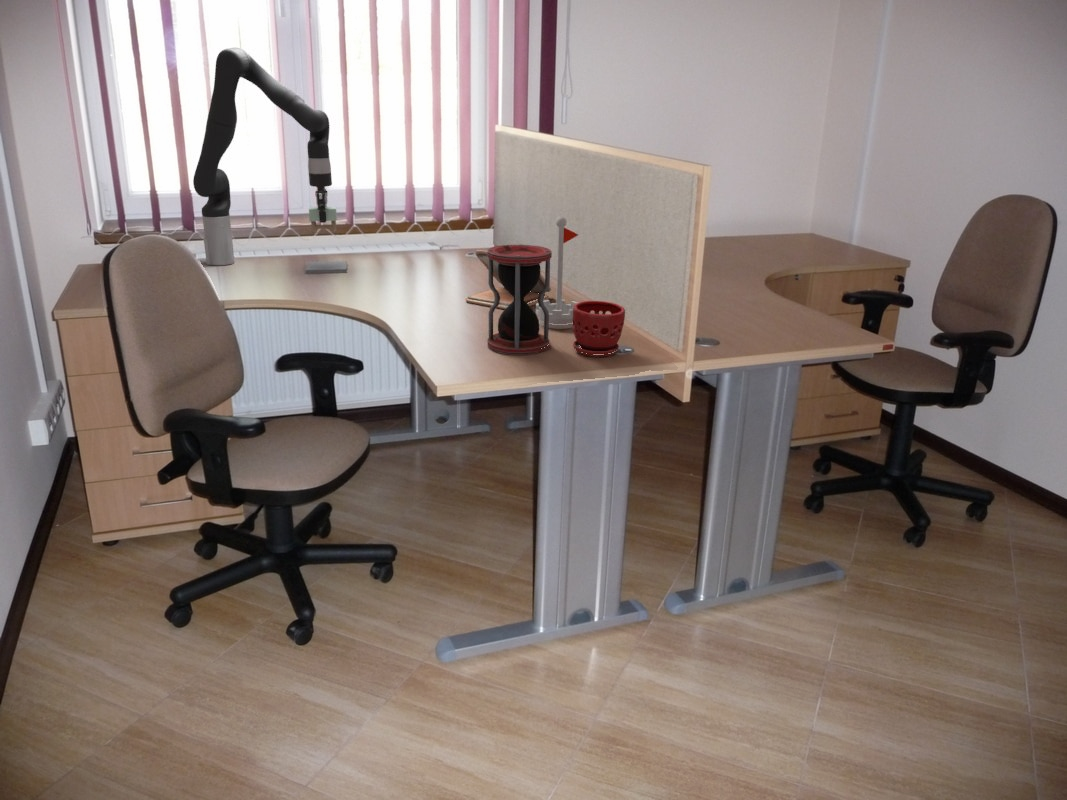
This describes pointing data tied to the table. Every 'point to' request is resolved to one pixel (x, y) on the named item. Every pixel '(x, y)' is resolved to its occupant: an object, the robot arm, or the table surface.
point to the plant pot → (597, 327)
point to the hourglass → (519, 299)
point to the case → (505, 296)
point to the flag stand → (559, 286)
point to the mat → (326, 267)
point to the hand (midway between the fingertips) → (323, 220)
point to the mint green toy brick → (330, 216)
